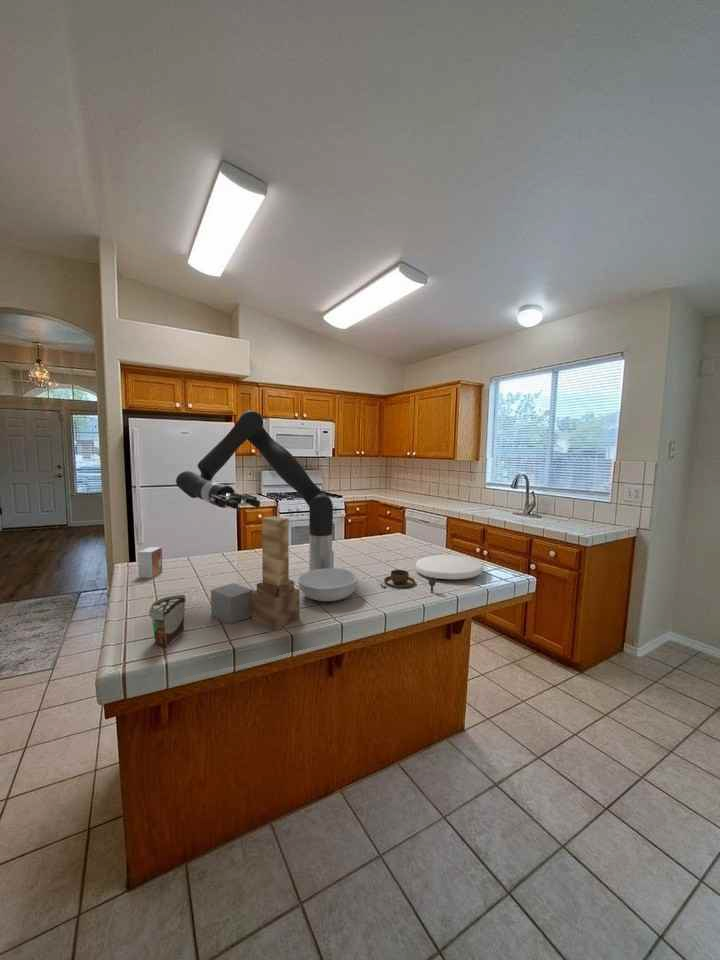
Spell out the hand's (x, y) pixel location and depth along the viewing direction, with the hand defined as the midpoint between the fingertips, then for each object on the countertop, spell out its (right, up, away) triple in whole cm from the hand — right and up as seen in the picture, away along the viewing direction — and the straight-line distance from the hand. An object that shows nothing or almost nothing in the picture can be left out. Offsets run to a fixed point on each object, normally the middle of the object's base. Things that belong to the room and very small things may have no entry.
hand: (248, 505), depth 121 cm
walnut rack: (+10, -34, -5) cm, 36 cm away
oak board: (+10, -25, -6) cm, 28 cm away
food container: (-18, -35, -17) cm, 43 cm away
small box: (-49, -31, +35) cm, 68 cm away
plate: (+73, -32, +42) cm, 90 cm away
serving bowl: (+24, -33, +15) cm, 43 cm away
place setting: (+52, -33, +25) cm, 67 cm away
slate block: (-4, -34, -2) cm, 34 cm away
